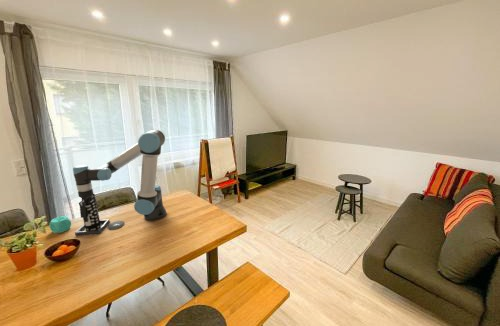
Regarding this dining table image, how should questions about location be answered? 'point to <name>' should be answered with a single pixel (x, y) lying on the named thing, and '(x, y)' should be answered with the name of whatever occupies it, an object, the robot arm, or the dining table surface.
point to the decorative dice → (60, 224)
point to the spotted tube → (92, 216)
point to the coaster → (115, 225)
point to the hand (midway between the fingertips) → (92, 221)
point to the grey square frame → (92, 232)
